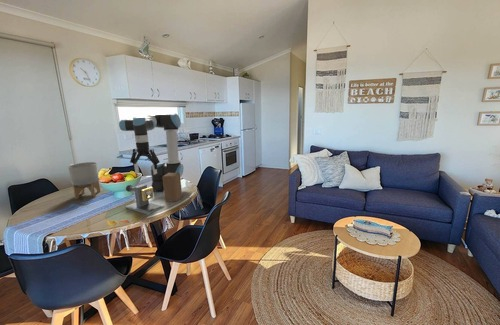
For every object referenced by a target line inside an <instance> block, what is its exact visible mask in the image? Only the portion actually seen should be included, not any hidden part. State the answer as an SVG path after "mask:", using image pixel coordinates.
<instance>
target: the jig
mask: <svg viewBox="0 0 500 325" xmlns="http://www.w3.org/2000/svg"><path fill="white" fill-rule="evenodd" d="M133 187H134V190H135V192H134V195H135V202H133V203H131V204H128V205H125V208H126V209H128V210H132V211H135V212H138V213H142V214H145V215H150V214H152V213H154V211H155V212H156V210H157V211H159V210H161V209H163V208H165V205H164V204H160V203H157V202H153V201H150V199H149V200H146V201H143V199H142V193H141V192H140V190H141V189H146V188H148V185H147V184H144V183H142V184H140V185H136V186H133ZM148 196H149V195H146V197H148Z"/></svg>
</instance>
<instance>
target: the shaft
mask: <svg viewBox="0 0 500 325" xmlns="http://www.w3.org/2000/svg"><path fill="white" fill-rule="evenodd" d="M134 187H135V186H133V185H131V184H128V185H126V187H125V191H126V192H128V193H129V192H133V193H135V190H134ZM141 190H143V189H141ZM141 190H140V192H141V193H142V191H141ZM152 194H154V192H153V193H152V191H147V192H146V195H148V196H151V195H152Z"/></svg>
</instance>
